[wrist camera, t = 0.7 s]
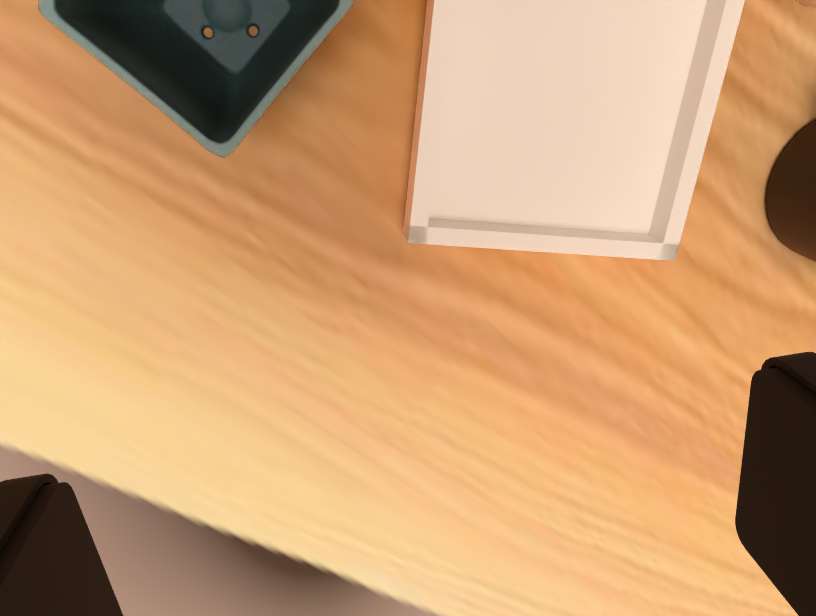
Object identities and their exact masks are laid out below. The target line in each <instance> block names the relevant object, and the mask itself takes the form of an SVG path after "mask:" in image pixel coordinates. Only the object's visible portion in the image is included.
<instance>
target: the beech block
mask: <svg viewBox="0 0 816 616" xmlns="http://www.w3.org/2000/svg"><path fill="white" fill-rule="evenodd" d="M796 1H798V2H799V3H801V4H802V5H804V6H816V0H796Z"/></svg>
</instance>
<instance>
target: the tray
mask: <svg viewBox="0 0 816 616" xmlns="http://www.w3.org/2000/svg"><path fill="white" fill-rule="evenodd" d="M744 2H745V0H427V8H426V17H425V27H424V37H423V46H422V56H421V65H420V75H419V84H418V94H417V103H416V113H415V122H414V132H413V141H412V151H411V160H410V170H409V180H408V189H407V199H406V208H405V218H404V227H403V231H404V234H405V236H406V239H407V242H408V243H417V244H432V245H447V246H462V247H477V248H492V249H507V250H522V251H537V252H551V253H566V254H581V255H596V256H611V257H626V258H641V259H656V260H671V261H675V257H676V254H677V250H678V246H679V243H680V239H681V235H682V232H683V228H684V224H685V220H686V217H687V213H688V209H689V206H690V202H691V198H692V195H693V191H694V187H695V183H696V180H697V176H698V172H699V169H700V165H701V161H702V158H703V154H704V150H705V146H706V143H707V139H708V135H709V132H710V128H711V124H712V120H713V117H714V113H715V109H716V106H717V102H718V98H719V95H720V91H721V87H722V83H723V80H724V76H725V72H726V69H727V65H728V61H729V58H730V54H731V50H732V46H733V43H734V39H735V35H736V32H737V28H738V24H739V21H740V17H741V13H742V9H743V6H744Z"/></svg>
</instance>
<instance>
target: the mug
mask: <svg viewBox="0 0 816 616" xmlns="http://www.w3.org/2000/svg"><path fill="white" fill-rule="evenodd" d="M766 204H767V213H768V218H769V221H770V224H771V226H772V228H773V230H774V232H775V234H776V235H777V237H778V238H779V240H780V241H781V242H782V243H783V244H784V245H785V246H787V247H788V248H789V249H791V250H793V251H794V252H796V253H798V254H800V255H802V256H804V257H806V258H809V259H811V260H813V261H815V262H816V120H815V121H813V122H812V123H810V124H809V125H807V126H806V127H805V128H804V129H803V130H801V131H800V132H799V133H798V134H797V135H796V136H795V137H794V138H793V139H792V140H791V141H790V143H789V144H788V145H787V147H786V148H785V149H784V151H783V152H782V153H781V155H780V157H779V159H778V161H777V162H776V164H775V166H774V169H773V171H772V174H771V176H770V180H769V184H768V189H767V198H766Z"/></svg>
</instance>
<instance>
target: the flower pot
mask: <svg viewBox="0 0 816 616" xmlns="http://www.w3.org/2000/svg"><path fill="white" fill-rule="evenodd" d="M353 3H354V0H39V3H38V9H39V11H40V13H41V14H42V15H43V16H44V17H45V18H46V19H47V20H48V21H49V22H51V23H52V24H53V25H54V26H55V27H56V28H58V29H59V30H61V31H62V32H63V33H64V34H66V35H67V36H68V37H69V38H70V39H72V40H73V41H74V42H76V43H77V44H78V45H80V46H81V47H82V48H83V49H85V50H86V51H87V52H88V53H90V54H91V55H92V56H94V57H95V58H96V59H97V60H98V61H100V62H101V63H103V64H104V65H105V66H106V67H108V68H109V69H110V70H111V71H113V72H114V73H115V74H117V75H118V76H119V77H120V78H121V79H123V80H124V81H125V82H126V83H128V84H129V85H130V86H131V87H132V88H134V89H135V90H136V91H137V92H138V93H140V94H141V95H142V96H143V97H145V98H146V99H147V100H148V101H150V102H151V103H152V104H153V105H155V106H156V107H157V108H158V109H159V110H161V111H162V112H163V113H165V114H166V115H167V116H168V117H169V118H170V119H172V120H173V121H174V122H175V123H176V124H178V125H179V126H180V127H181V128H182V129H184V130H185V131H186V132H187V133H188V134H190V135H191V136H192V137H193V138H194V139H195V140H197V141H198V142H199V143H200V144H201V145H202V146H203V147H204V148H206V149H207V150H209V151H210V152H211V153H213V154H215V155H216V156H220V157H227V156H229V155H230V154H231V153H232V152H233V151H234V150H235V149H236V148H237V147H238V146H239V144H240V143H241V142H242V140H243V139H244V137H245V136H246V135H247V134H248V132H249V131H250V130H251V129H252V127H253V126H254V125H255V124H256V122H257V121H258V120H259V118H260V117H261V116H262V115H263V113H264V112H265V111H266V110H267V108H268V107H269V106H270V105H271V103H272V102H273V101H274V100H275V98H276V97H277V96H278V95H279V93H280V92H281V91H282V90H283V88H284V87H285V86H286V85H287V84H288V83H289V81H290V80H291V79H292V78H293V76H294V75H295V74H296V73H297V72H298V70H299V69H300V68H301V67H302V65H303V64H304V63H305V62H306V60H307V59H308V58H309V57H310V56H311V54H312V53H313V52H314V51H315V50H316V48H317V47H318V46H319V45H320V44H321V43H322V41H323V40H324V39H325V38H326V37H327V35H328V34H329V33H330V32H331V31H332V29H333V28H334V27H335V26H336V25H337V24H338V23H339V22H340V21H341V19H342V18H343V17H344V16H345V14H346V13H347V12H348V11H349V9H350V8H351V7H352V5H353ZM250 26H256V27H257V29H258V34H257V35H256V36H251V35H249V33H248V28H249V27H250ZM205 27H210V28H211V29H212V31H213V36H212V37H211V38H206V37H205V36H204V35H203V29H204V28H205Z"/></svg>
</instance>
